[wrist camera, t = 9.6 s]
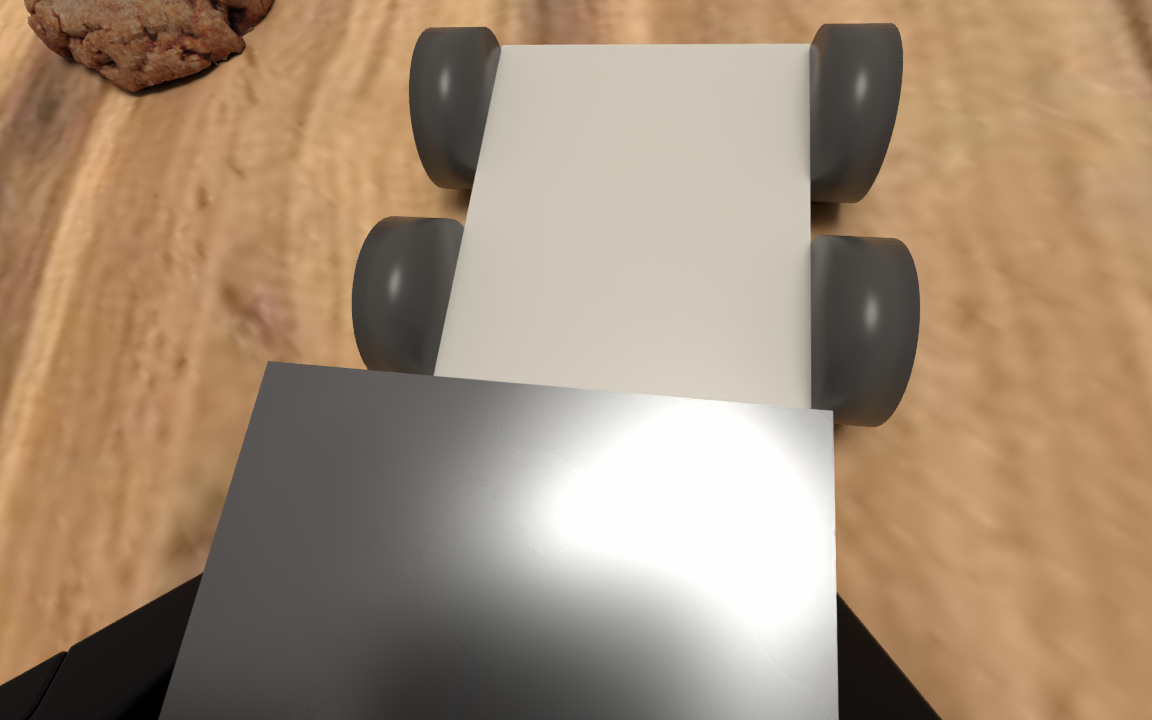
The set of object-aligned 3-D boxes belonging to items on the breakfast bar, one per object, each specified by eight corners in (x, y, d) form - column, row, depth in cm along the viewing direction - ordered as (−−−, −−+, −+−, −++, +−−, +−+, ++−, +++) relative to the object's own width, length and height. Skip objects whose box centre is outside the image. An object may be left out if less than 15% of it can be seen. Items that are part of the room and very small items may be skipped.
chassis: (857, 862, 12) (970, 1027, 8) (334, 757, 14) (200, 847, 10) (839, 106, 19) (897, -26, 14) (476, 102, 21) (431, -16, 16)
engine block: (694, 738, 12) (850, 1332, 3) (476, 700, 13) (49, 1077, 4) (706, 505, 14) (833, 411, 4) (510, 482, 15) (268, 361, 5)
